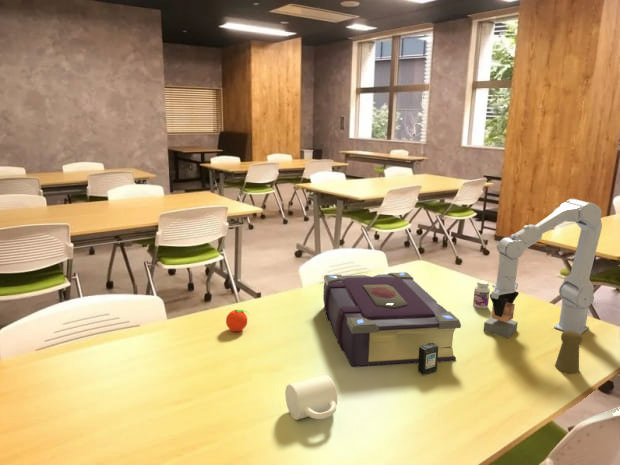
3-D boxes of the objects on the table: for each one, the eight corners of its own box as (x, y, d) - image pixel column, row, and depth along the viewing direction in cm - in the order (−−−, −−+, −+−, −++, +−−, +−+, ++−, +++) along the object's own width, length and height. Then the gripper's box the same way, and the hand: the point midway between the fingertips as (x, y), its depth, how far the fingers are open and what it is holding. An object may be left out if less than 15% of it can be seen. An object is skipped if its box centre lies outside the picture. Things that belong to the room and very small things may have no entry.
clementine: (246, 323, 157) (246, 304, 155) (253, 332, 151) (253, 311, 149) (223, 328, 153) (223, 308, 152) (229, 336, 147) (228, 315, 146)
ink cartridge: (423, 376, 126) (424, 349, 124) (417, 372, 128) (419, 345, 126) (437, 371, 128) (438, 345, 126) (431, 367, 130) (433, 341, 128)
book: (346, 369, 129) (347, 323, 126) (319, 307, 172) (319, 271, 169) (457, 362, 134) (462, 317, 131) (404, 303, 177) (406, 268, 174)
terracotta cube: (498, 313, 156) (500, 299, 155) (512, 318, 153) (514, 304, 152) (491, 317, 153) (492, 303, 152) (506, 322, 150) (507, 308, 148)
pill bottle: (471, 306, 174) (473, 282, 172) (474, 302, 178) (477, 278, 176) (486, 310, 171) (489, 285, 169) (489, 305, 176) (491, 281, 173)
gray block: (492, 324, 160) (493, 315, 159) (516, 331, 155) (517, 321, 154) (483, 331, 154) (484, 322, 153) (507, 339, 149) (508, 329, 148)
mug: (284, 408, 111) (285, 378, 109) (321, 397, 116) (322, 368, 114) (307, 437, 101) (307, 405, 99) (346, 425, 105) (347, 394, 103)
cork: (582, 375, 128) (588, 338, 125) (558, 372, 129) (564, 336, 126) (574, 364, 133) (580, 329, 131) (552, 361, 135) (557, 326, 132)
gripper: (505, 267, 157) (500, 304, 160) (484, 276, 148) (479, 315, 151) (526, 272, 152) (521, 310, 155) (505, 282, 143) (500, 322, 146)
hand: (502, 313), depth 153 cm, fingers closed on terracotta cube, 5 cm apart
